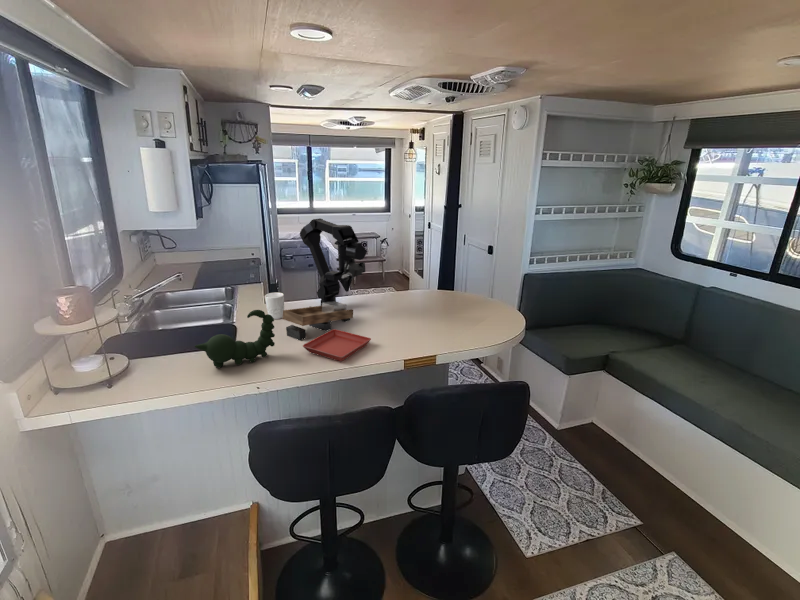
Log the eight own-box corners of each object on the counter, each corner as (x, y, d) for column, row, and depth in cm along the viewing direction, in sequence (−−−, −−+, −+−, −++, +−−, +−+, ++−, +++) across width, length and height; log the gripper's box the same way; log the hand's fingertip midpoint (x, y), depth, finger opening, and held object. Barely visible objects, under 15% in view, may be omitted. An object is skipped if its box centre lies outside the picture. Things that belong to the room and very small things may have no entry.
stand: (335, 315, 186) (335, 307, 185) (351, 320, 180) (351, 312, 179) (285, 334, 166) (284, 326, 165) (301, 341, 160) (300, 332, 159)
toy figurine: (271, 354, 153) (195, 364, 142) (270, 304, 148) (191, 310, 137) (277, 364, 146) (197, 375, 134) (276, 312, 140) (193, 319, 129)
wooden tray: (332, 312, 186) (333, 303, 185) (353, 319, 178) (354, 309, 178) (281, 320, 165) (282, 309, 164) (303, 327, 157) (303, 316, 156)
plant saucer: (372, 345, 156) (372, 337, 155) (342, 365, 141) (341, 356, 140) (334, 336, 165) (333, 328, 164) (302, 354, 150) (301, 345, 149)
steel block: (333, 310, 182) (334, 301, 182) (345, 313, 178) (346, 304, 177) (321, 311, 177) (322, 302, 176) (333, 315, 173) (333, 305, 172)
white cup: (281, 320, 181) (278, 298, 178) (264, 319, 182) (261, 297, 179) (288, 313, 188) (286, 292, 185) (272, 313, 190) (269, 292, 186)
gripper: (342, 263, 165) (344, 300, 170) (374, 254, 179) (375, 289, 184) (323, 259, 171) (325, 295, 176) (355, 251, 185) (356, 285, 190)
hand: (346, 291), depth 182 cm, fingers closed
